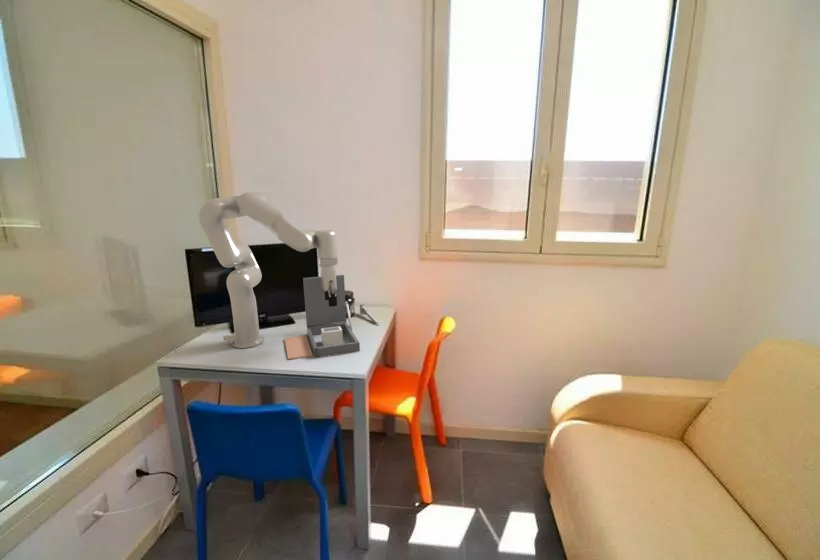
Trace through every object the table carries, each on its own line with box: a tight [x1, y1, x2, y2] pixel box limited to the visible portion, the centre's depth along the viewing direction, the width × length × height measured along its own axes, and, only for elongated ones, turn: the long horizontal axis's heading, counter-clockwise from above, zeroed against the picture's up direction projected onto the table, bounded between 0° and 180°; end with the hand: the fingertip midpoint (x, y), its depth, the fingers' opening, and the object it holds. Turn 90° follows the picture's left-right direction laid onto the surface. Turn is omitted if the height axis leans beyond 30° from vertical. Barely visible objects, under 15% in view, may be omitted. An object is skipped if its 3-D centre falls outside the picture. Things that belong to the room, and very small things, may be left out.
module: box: [320, 326, 344, 347], centre depth 167 cm, size 8×5×6 cm, turn 110°
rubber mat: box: [283, 334, 313, 361], centre depth 162 cm, size 9×22×1 cm, turn 20°
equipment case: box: [302, 274, 361, 359], centre depth 165 cm, size 19×26×26 cm
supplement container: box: [345, 289, 356, 319], centre depth 200 cm, size 10×10×12 cm
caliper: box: [359, 302, 380, 326], centre depth 195 cm, size 20×1×6 cm, turn 31°
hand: (331, 302), depth 163 cm, fingers open, 9 cm apart
